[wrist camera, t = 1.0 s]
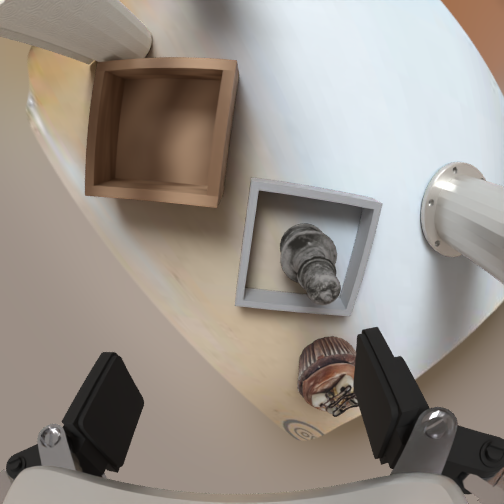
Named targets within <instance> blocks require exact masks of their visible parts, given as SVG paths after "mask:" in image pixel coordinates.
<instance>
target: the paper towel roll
mask: <svg viewBox="0 0 504 504" xmlns="http://www.w3.org/2000/svg"><path fill="white" fill-rule="evenodd" d="M0 37H4V38H8V39H11V40H15V41H19V42H23V43H26V44H30V45H33V46H36V47H40V48H43V49H46V50H49V51H52V52H55V53H58V54H61V55H64V56H67V57H70V58H73V59H76V60H78V61H81V62H84V63H86V64H90V63H91V62H93V61H94V60H95V61H98V62H104V61H113V60H124V59H138V58H145V56H146V55H147V53H148V52H149V51H150V47H151V43H152V38H151V32H150V31H149V30H148V28H147V27H146V26H145V25H144V24H143V23H142V22H141V21H140V20H139V19H138V18H137V17H136V16H135V15H134V14H133V13H132V12H131V11H130V10H129V9H128V8H126V7H125V6H124V5H123V4H122V3H121V2H120V1H119V0H0Z"/></svg>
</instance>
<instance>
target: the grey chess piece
mask: <svg viewBox="0 0 504 504" xmlns="http://www.w3.org/2000/svg"><path fill="white" fill-rule="evenodd" d="M280 251H281V266H282V269H283V271H284V272H285V274H286V275H287V276H288V277H289V278H290V279H291V280H293V281H295V282H297V283H299V284H300V285H301V287H303V288H304V289H305V290H306V292H307V295H308V297H309V298H310V300H311V301H312V302H314V303H316V304H318V305H327V304H330V303H332V302H334V301H335V300H336V299H337V298H338V296H339V294H340V290H341V287H340V282H339V280H338V279H337V277H336V268H335V263H336V259H337V252H336V247H335V245H334V243H333V241H332V240H331V239H330V238H329V237H328V236H327V235H325V234H324V233H322V231H321V230H320V229H319V228H317V227H315V226H314V225H311V224H298V225H295V226H293V227H291V228H290V229H288V230H287V231H286V232H285V234H284V235H283V237H282V239H281V243H280Z"/></svg>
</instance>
